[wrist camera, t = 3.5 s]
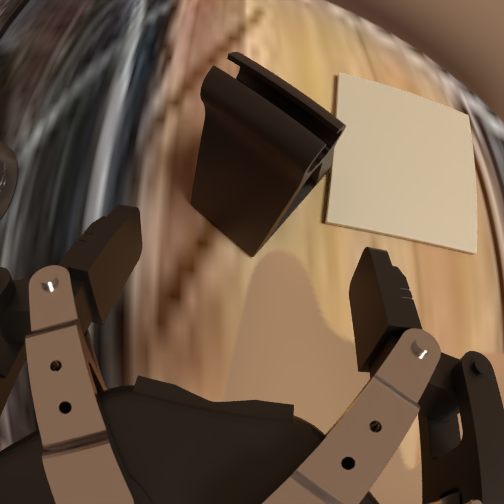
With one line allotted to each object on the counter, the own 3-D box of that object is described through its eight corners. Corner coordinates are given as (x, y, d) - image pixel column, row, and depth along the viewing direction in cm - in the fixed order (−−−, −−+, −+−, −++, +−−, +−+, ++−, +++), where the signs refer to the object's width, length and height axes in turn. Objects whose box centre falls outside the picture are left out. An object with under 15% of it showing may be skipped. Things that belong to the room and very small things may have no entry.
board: (324, 223, 24) (326, 221, 23) (337, 76, 25) (338, 72, 25) (472, 254, 24) (476, 253, 23) (465, 118, 25) (468, 115, 25)
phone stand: (270, 124, 25) (285, 14, 13) (329, 170, 24) (386, 80, 12) (191, 204, 24) (143, 125, 12) (252, 258, 23) (257, 220, 11)
